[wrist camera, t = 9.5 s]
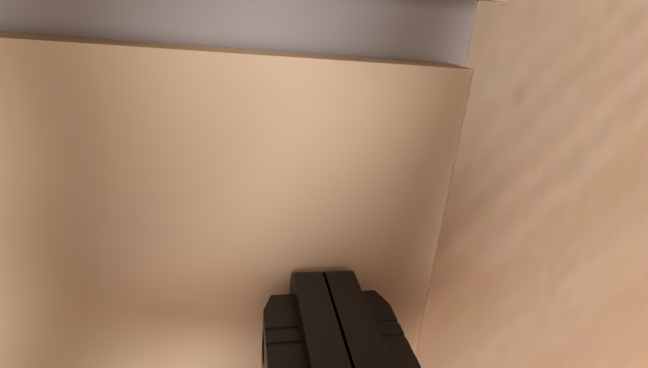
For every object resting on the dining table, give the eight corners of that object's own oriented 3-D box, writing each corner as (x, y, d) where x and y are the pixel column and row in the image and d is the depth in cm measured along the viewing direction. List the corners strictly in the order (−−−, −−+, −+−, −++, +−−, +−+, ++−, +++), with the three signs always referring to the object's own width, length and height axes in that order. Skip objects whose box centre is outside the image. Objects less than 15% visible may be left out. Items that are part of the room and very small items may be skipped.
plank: (-362, 402, 10) (-439, 453, 8) (-646, -13, 6) (-826, -18, 5) (396, 345, 13) (410, 375, 12) (447, 63, 10) (473, 69, 9)
